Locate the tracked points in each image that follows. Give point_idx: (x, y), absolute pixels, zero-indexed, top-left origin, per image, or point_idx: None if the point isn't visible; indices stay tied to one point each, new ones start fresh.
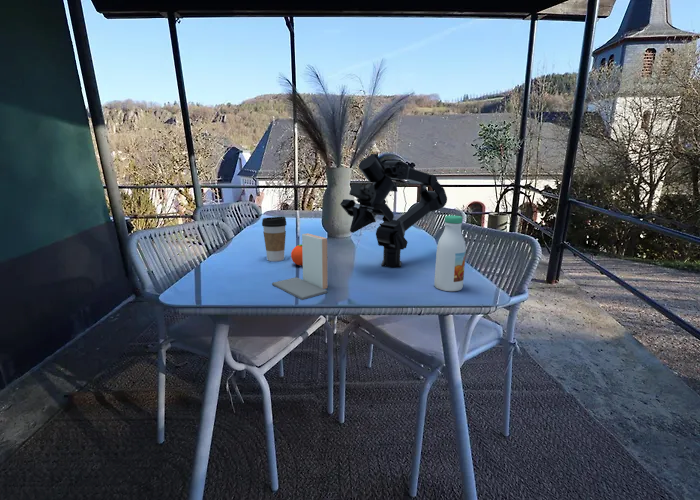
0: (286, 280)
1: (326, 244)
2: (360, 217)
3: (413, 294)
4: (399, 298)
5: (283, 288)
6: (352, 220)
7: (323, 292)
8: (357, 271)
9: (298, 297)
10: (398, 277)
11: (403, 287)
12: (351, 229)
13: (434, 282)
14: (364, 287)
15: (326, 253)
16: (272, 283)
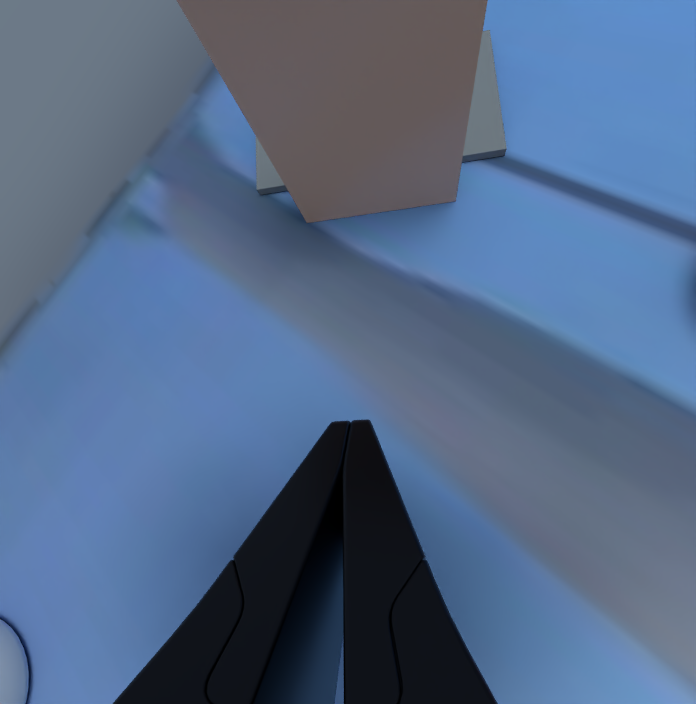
0: (483, 92)
1: (198, 32)
2: (174, 673)
3: (34, 472)
4: (47, 392)
5: None
6: (418, 557)
7: (258, 173)
8: (433, 505)
9: None
10: None
11: (106, 506)
12: (340, 430)
13: (5, 647)
14: (213, 360)
15: (234, 93)
16: (486, 33)
